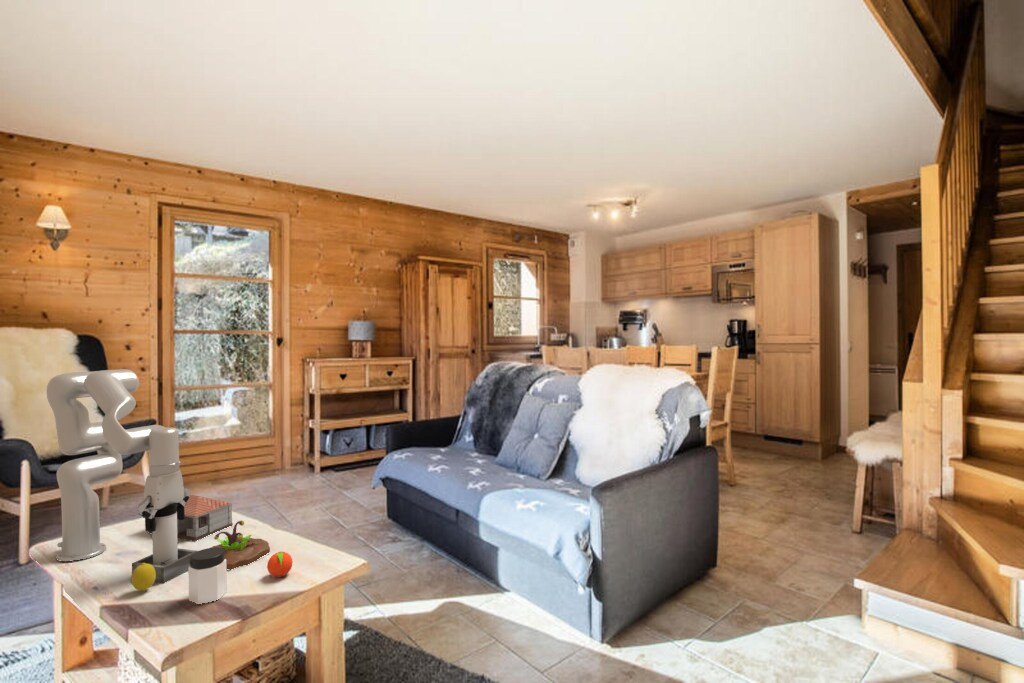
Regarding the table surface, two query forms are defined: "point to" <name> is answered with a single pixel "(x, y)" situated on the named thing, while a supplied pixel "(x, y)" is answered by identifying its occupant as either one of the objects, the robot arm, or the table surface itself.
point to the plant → (241, 548)
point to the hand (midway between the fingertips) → (165, 524)
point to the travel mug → (165, 536)
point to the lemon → (143, 577)
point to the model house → (203, 518)
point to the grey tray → (168, 566)
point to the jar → (207, 575)
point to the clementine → (279, 564)
